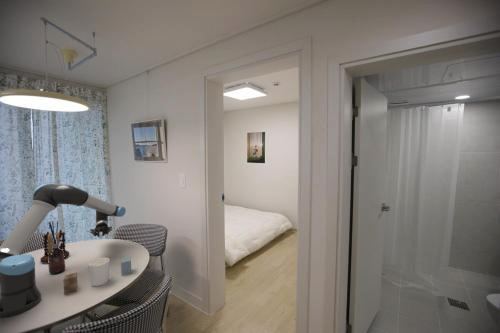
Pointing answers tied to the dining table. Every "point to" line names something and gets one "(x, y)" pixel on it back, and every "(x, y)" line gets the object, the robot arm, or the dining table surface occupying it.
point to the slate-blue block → (125, 266)
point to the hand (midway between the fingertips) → (100, 236)
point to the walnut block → (70, 283)
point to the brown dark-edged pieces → (50, 244)
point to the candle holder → (99, 271)
